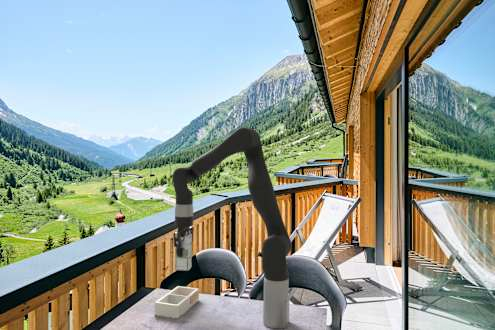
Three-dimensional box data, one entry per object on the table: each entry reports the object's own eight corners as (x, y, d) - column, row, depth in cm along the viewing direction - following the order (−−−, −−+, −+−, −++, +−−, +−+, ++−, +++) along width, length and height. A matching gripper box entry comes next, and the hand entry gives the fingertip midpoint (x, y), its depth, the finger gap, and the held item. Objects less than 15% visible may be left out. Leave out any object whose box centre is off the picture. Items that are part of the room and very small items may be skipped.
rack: (199, 300, 155) (199, 288, 155) (178, 319, 137) (178, 306, 137) (177, 297, 158) (177, 285, 158) (154, 315, 140) (154, 302, 140)
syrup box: (191, 267, 154) (192, 233, 154) (188, 271, 149) (188, 236, 148) (178, 266, 155) (179, 232, 155) (174, 270, 149) (174, 235, 149)
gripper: (184, 217, 143) (183, 259, 144) (199, 212, 157) (199, 251, 157) (167, 216, 145) (167, 258, 146) (183, 211, 159) (183, 249, 160)
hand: (183, 254), depth 152 cm, fingers closed on syrup box, 6 cm apart
